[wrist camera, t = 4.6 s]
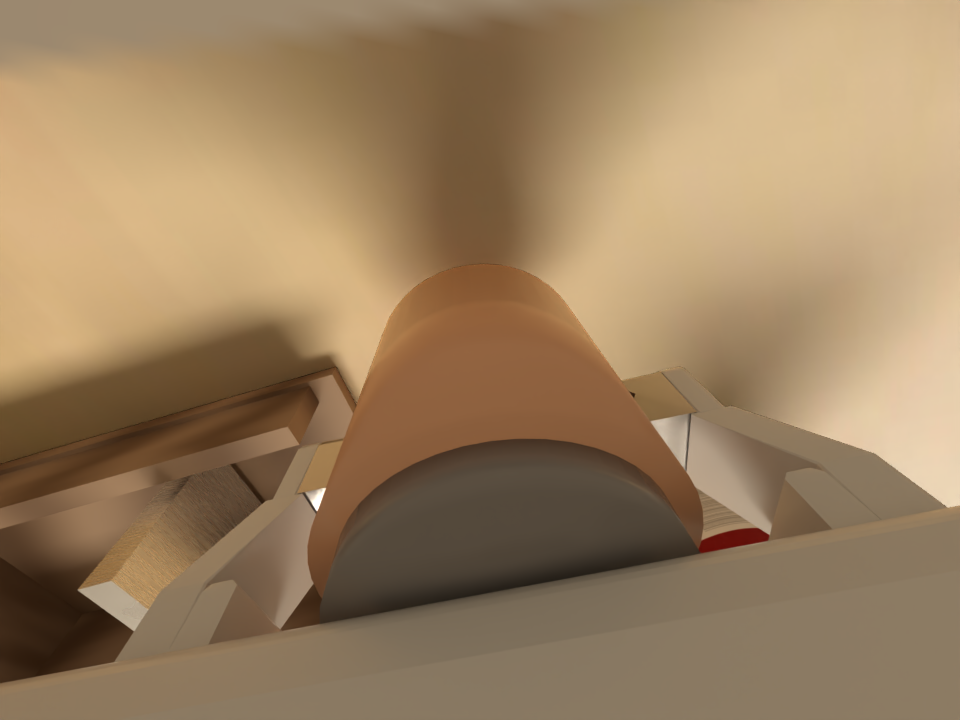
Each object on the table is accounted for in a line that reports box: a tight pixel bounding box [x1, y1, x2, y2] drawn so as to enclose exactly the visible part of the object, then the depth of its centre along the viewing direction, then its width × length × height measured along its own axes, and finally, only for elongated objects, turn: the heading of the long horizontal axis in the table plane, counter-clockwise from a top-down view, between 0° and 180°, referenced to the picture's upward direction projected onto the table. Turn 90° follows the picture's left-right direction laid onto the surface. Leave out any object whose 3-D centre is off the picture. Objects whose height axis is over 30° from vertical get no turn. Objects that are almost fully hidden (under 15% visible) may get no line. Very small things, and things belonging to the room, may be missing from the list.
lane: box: [0, 367, 356, 683], centre depth 15 cm, size 18×10×7 cm, turn 105°
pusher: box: [78, 464, 262, 631], centre depth 15 cm, size 3×7×6 cm, turn 15°
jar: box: [307, 264, 704, 624], centre depth 8 cm, size 6×6×7 cm
